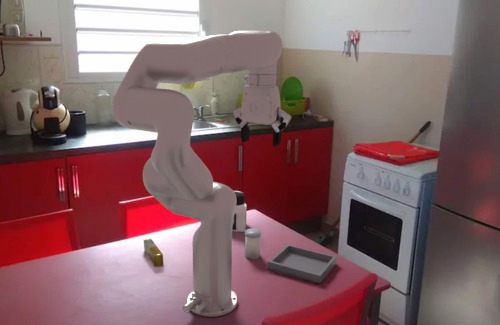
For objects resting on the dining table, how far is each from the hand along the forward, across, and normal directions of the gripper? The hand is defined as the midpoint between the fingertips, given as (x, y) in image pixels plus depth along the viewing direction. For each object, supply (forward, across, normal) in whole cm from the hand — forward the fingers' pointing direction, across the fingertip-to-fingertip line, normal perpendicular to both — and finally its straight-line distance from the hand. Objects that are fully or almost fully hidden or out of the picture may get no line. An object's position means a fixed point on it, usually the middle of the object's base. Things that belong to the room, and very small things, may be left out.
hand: (260, 143), depth 124 cm
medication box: (+37, -29, -13) cm, 49 cm away
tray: (+37, +12, +6) cm, 39 cm away
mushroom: (+37, -4, +4) cm, 37 cm away
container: (+37, -20, +20) cm, 47 cm away
